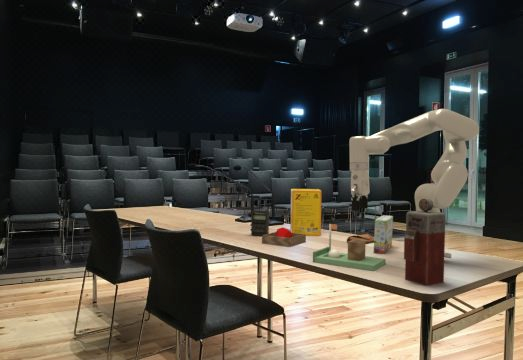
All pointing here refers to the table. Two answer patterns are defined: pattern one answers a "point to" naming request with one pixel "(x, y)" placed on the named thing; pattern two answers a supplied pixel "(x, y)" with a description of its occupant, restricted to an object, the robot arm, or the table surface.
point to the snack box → (383, 234)
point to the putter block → (356, 250)
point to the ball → (334, 253)
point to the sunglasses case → (362, 238)
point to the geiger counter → (259, 223)
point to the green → (346, 258)
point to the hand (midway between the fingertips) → (359, 209)
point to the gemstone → (283, 233)
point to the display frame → (284, 239)
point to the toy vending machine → (424, 245)
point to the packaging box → (306, 211)
